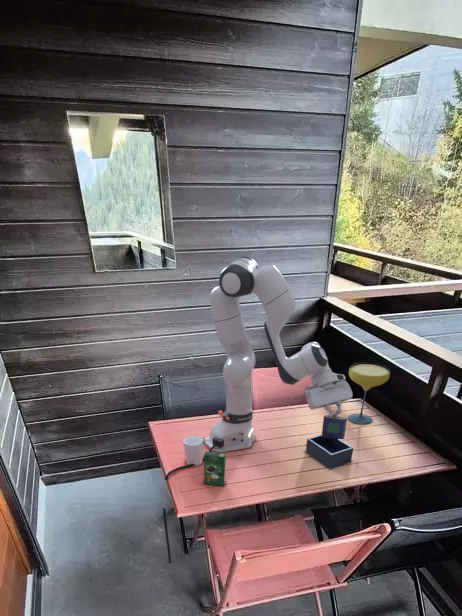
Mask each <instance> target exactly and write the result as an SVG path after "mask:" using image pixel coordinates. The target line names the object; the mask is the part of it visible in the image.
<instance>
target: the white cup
mask: <svg viewBox="0 0 462 616" xmlns="http://www.w3.org/2000/svg"><path fill="white" fill-rule="evenodd" d="M182 442H183V450H184V457H185V463H186V465H190V464H195V465H194V466H193V467H197V466H200V465H202V463H204V461H203V458H204V438H203V437H200V436H198V435H189V436H186V437H184V439H183V441H182Z"/></svg>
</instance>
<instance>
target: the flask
mask: <svg viewBox="0 0 462 616" xmlns="http://www.w3.org/2000/svg"><path fill="white" fill-rule="evenodd" d="M335 413H336V412H335ZM338 415H339V414H338V413H336V414H335V415H334V416H330V414H329V413H328V414H324V415H323V420H322V421H323V422H322V430H321V434H322V437H326V438H333V439H340V440H344V439H345V437H346V429H347V420H348V418H347V417H346V416H338Z"/></svg>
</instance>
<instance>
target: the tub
mask: <svg viewBox="0 0 462 616" xmlns="http://www.w3.org/2000/svg"><path fill="white" fill-rule="evenodd" d="M305 453H306V454H308V455H309V456H310V457H312V458H313V459H315V460H316V461H317V462H320V463H321V464H322V465H323V466H325V467H326V468H327V469H329V470H331V469H333V468H336V467H340V466H341V465H345V464H348V463H351V462H352V458H353V454H354V447H353V446H352V445H350V444H348V443H347V442H346V441H343V439H333V438H326V437H322V433H321V434H318V435H314V436H312V437H311V436H310V437H307V438H306V447H305Z"/></svg>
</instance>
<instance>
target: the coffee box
mask: <svg viewBox="0 0 462 616" xmlns="http://www.w3.org/2000/svg"><path fill="white" fill-rule="evenodd" d="M203 458H204V461H203V483H204V484H205V485H213V486H214V485H215V486H223V487H224V486H225V482H226V453H225V452H221V453H219V452H215V451H212V452H209V451H205V452H204V453H203Z"/></svg>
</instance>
